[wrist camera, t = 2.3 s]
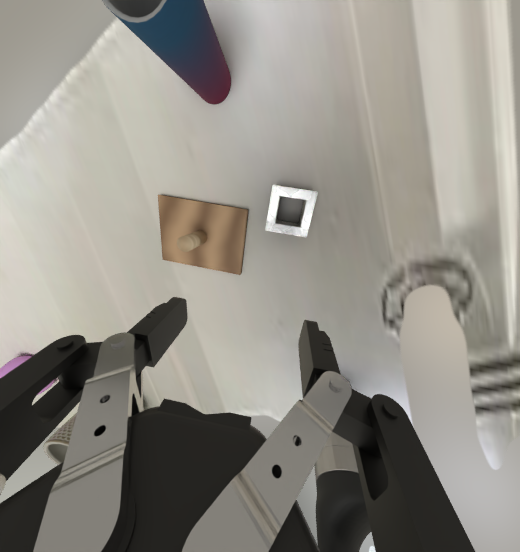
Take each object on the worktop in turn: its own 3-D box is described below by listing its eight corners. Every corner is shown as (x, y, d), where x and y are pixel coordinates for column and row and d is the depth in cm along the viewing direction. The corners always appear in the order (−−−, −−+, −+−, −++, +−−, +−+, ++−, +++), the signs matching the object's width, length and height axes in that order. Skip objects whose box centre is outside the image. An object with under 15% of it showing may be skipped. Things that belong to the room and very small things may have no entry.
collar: (313, 193, 29) (317, 191, 24) (303, 231, 32) (306, 237, 27) (275, 186, 30) (272, 184, 25) (268, 225, 32) (265, 230, 27)
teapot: (6, 360, 62) (-47, 390, 52) (37, 346, 56) (-15, 377, 46) (38, 388, 66) (-6, 420, 56) (70, 377, 60) (28, 411, 50)
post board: (248, 209, 31) (238, 212, 25) (241, 272, 36) (231, 288, 30) (161, 195, 33) (130, 194, 26) (165, 258, 38) (140, 270, 31)
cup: (237, 112, 26) (181, 20, 13) (192, 112, 27) (95, 24, 14) (237, 46, 24) (167, -161, 10) (188, 47, 25) (61, -142, 11)
